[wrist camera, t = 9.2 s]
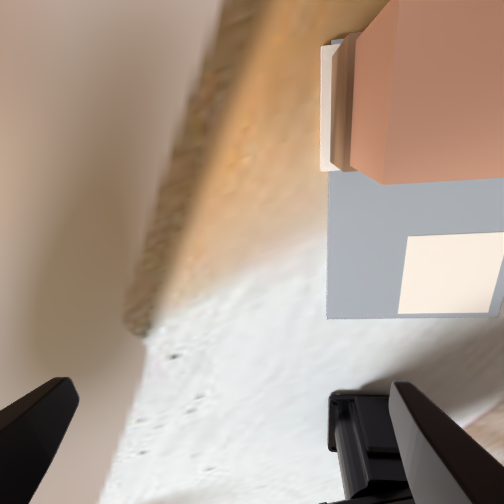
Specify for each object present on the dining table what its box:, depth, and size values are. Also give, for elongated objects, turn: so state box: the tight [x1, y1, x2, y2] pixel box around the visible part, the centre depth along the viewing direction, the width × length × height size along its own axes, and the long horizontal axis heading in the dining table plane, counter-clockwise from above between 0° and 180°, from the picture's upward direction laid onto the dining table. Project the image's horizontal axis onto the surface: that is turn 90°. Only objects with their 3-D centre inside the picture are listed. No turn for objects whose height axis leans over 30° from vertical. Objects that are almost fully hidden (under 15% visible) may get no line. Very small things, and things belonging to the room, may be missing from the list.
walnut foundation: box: [330, 32, 363, 172], centre depth 13 cm, size 5×5×4 cm
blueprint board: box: [320, 38, 504, 319], centre depth 17 cm, size 16×12×1 cm
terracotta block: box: [350, 0, 504, 185], centre depth 9 cm, size 4×4×4 cm
